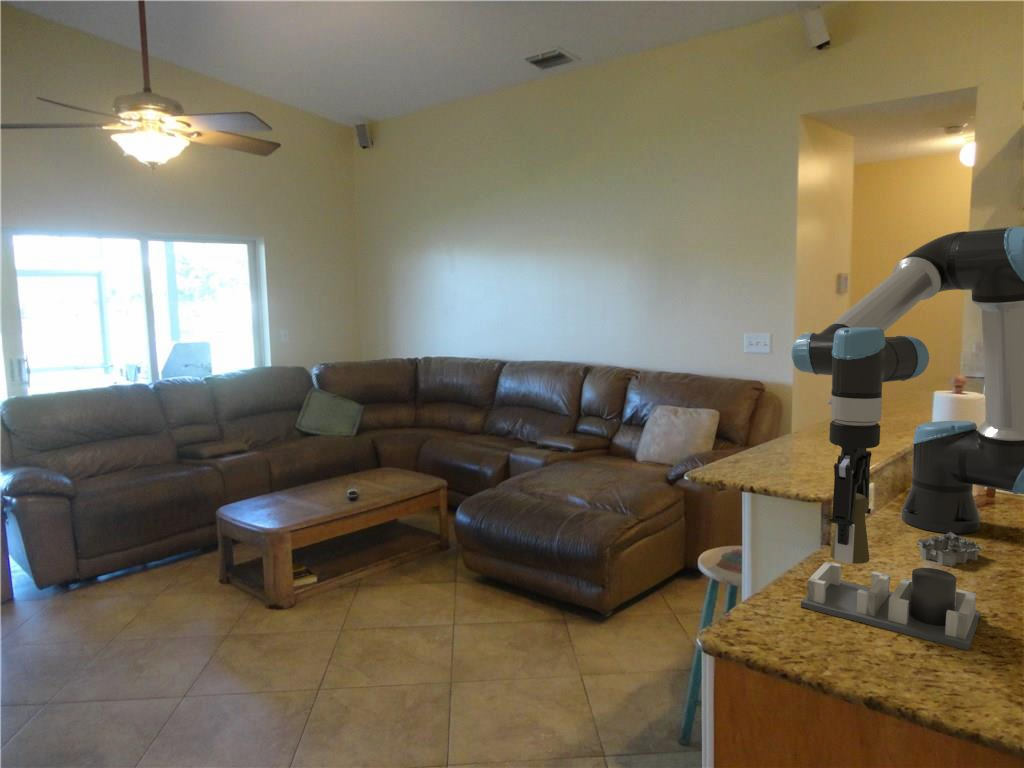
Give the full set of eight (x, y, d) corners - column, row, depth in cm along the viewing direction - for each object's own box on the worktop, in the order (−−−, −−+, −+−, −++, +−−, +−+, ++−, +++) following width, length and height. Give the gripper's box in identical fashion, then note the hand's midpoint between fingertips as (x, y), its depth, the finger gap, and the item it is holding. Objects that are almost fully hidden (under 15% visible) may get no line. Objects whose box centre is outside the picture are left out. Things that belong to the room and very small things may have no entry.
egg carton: (946, 569, 133) (947, 549, 133) (911, 556, 140) (912, 536, 140) (985, 560, 137) (987, 540, 136) (950, 547, 144) (951, 528, 143)
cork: (871, 565, 115) (874, 500, 113) (831, 561, 117) (833, 497, 115) (866, 552, 120) (869, 490, 119) (828, 549, 122) (830, 487, 121)
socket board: (823, 581, 128) (825, 539, 127) (980, 618, 113) (983, 570, 112) (800, 607, 118) (802, 561, 117) (968, 650, 103) (971, 598, 102)
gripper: (846, 411, 125) (841, 535, 128) (813, 427, 111) (808, 567, 114) (893, 415, 120) (886, 544, 123) (864, 432, 106) (858, 579, 109)
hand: (849, 555), depth 118 cm, fingers closed on cork, 6 cm apart
